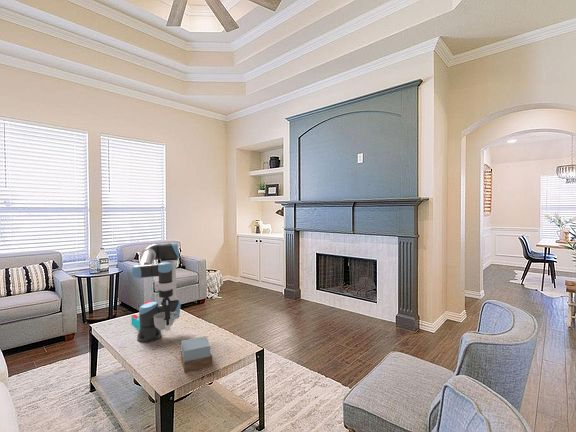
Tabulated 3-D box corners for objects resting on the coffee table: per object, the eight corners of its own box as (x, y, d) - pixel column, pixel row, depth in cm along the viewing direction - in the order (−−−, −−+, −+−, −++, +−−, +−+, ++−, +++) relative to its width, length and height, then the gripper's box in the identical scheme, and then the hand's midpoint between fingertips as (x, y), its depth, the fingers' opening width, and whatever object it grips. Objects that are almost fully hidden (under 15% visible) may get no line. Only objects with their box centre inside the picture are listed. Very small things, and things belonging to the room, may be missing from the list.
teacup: (156, 333, 168) (155, 319, 167) (152, 326, 177) (151, 313, 176) (181, 327, 176) (181, 313, 175) (176, 321, 185) (176, 308, 184)
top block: (181, 350, 177) (181, 340, 177) (206, 345, 183) (205, 336, 183) (184, 362, 164) (184, 351, 164) (210, 356, 170) (210, 345, 170)
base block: (180, 360, 177) (180, 350, 177) (206, 354, 184) (206, 345, 184) (184, 373, 164) (184, 362, 164) (212, 366, 171) (212, 356, 171)
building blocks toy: (173, 321, 237) (173, 298, 237) (140, 331, 220) (139, 306, 219) (163, 315, 251) (163, 293, 250) (131, 323, 233) (130, 300, 232)
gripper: (157, 285, 184) (158, 321, 185) (160, 295, 163) (161, 335, 164) (170, 284, 187) (171, 319, 188) (174, 293, 166) (175, 332, 167)
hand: (166, 326), depth 176 cm, fingers closed on teacup, 11 cm apart
